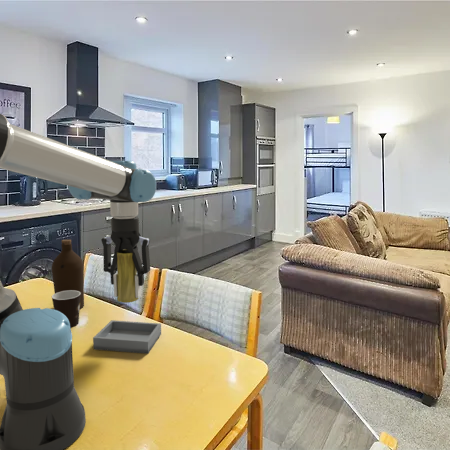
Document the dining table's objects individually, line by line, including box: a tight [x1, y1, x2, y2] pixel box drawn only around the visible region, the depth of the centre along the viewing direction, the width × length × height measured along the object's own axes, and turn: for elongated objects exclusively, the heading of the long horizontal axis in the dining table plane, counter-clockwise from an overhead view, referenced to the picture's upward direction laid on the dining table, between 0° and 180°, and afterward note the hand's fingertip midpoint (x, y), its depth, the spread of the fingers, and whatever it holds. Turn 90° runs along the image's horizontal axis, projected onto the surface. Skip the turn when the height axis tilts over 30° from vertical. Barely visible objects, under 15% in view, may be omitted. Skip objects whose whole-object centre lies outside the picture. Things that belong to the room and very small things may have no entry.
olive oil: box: [51, 238, 85, 310], centre depth 133 cm, size 11×11×25 cm
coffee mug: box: [51, 290, 81, 328], centre depth 121 cm, size 12×9×10 cm
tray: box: [92, 319, 162, 355], centre depth 109 cm, size 12×16×4 cm
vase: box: [116, 249, 140, 304], centre depth 106 cm, size 6×6×14 cm
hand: (128, 295), depth 107 cm, fingers closed on vase, 6 cm apart
